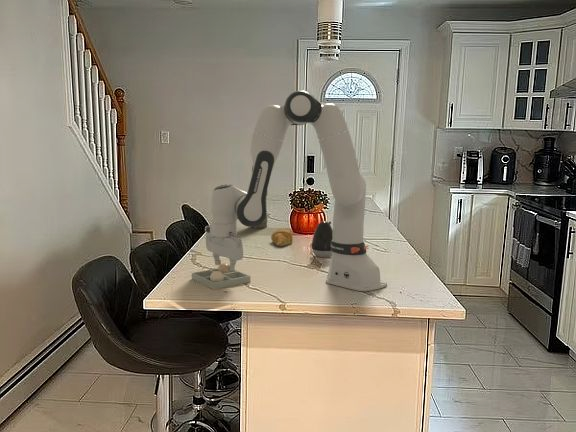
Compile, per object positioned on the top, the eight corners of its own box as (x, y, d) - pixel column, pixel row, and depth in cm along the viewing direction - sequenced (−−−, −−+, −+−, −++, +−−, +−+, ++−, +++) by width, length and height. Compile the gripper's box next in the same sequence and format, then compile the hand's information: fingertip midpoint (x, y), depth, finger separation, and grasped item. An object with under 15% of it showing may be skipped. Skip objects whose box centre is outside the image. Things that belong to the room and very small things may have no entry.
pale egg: (226, 285, 189) (226, 271, 189) (214, 287, 187) (214, 273, 186) (219, 281, 193) (219, 268, 192) (207, 284, 190) (207, 270, 189)
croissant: (285, 255, 250) (293, 240, 249) (266, 244, 250) (274, 229, 249) (289, 244, 271) (297, 230, 270) (272, 234, 271) (279, 220, 269)
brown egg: (233, 276, 200) (233, 263, 199) (222, 279, 197) (222, 265, 196) (226, 273, 203) (226, 261, 203) (215, 276, 200) (215, 263, 200)
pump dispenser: (339, 255, 237) (340, 220, 234) (327, 260, 228) (328, 224, 226) (319, 252, 242) (320, 218, 240) (306, 257, 234) (307, 221, 231)
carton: (250, 284, 194) (250, 275, 193) (213, 291, 185) (212, 283, 184) (227, 274, 205) (227, 266, 205) (191, 281, 196) (191, 273, 196)
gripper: (247, 233, 191) (247, 272, 193) (217, 224, 207) (217, 260, 209) (232, 235, 187) (232, 275, 190) (202, 226, 203) (203, 263, 205)
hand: (224, 267), depth 200 cm, fingers open, 8 cm apart
